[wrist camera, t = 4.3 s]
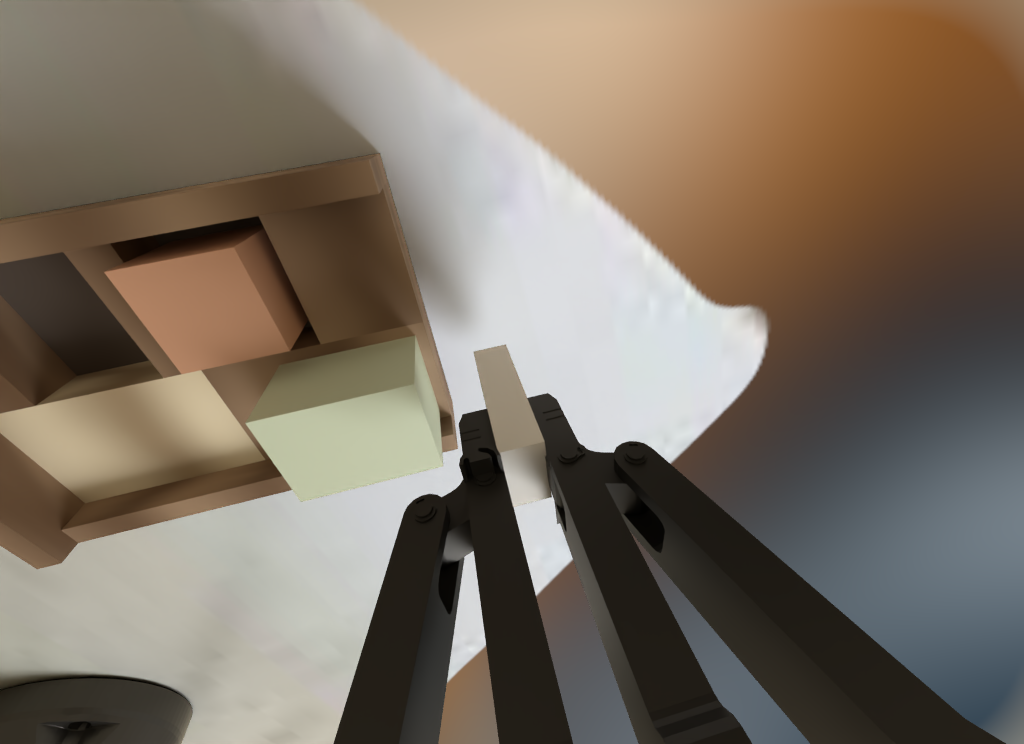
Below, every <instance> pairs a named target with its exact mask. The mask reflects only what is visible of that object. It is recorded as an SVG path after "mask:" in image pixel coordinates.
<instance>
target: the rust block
mask: <svg viewBox="0 0 1024 744" xmlns="http://www.w3.org/2000/svg"><path fill="white" fill-rule="evenodd" d="M104 273H105V274H106V275H107V277H108V278H109V279H110V281H111V282H112V283H113V285H114V286H115V287H116V289H117V290H118V291H119V292H120V294H121V295H122V296H123V298H124V299H125V300H126V302H127V303H128V304H129V306H130V307H131V308H132V310H133V311H134V312H135V314H136V315H137V316H138V318H139V319H140V320H141V321H142V323H143V324H144V325H145V327H146V328H147V329H148V331H149V332H150V333H151V335H152V336H153V337H154V339H155V340H156V341H157V343H158V344H159V345H160V346H161V348H162V349H163V350H164V352H165V353H166V354H167V356H168V357H169V358H170V360H171V361H172V362H173V364H174V365H175V366H176V368H177V369H178V370H179V372H180V373H181V374H186V373H190V372H195V371H200V370H204V369H209V368H214V367H218V366H223V365H227V364H232V363H237V362H241V361H246V360H251V359H255V358H260V357H264V356H269V355H274V354H278V353H283V352H288V351H290V350H291V349H292V347H293V345H294V343H295V342H296V340H297V338H298V337H299V335H300V333H301V331H302V330H303V328H304V326H305V325H306V323H307V321H308V320H309V319H308V317H307V315H306V313H305V311H304V309H303V307H302V305H301V303H300V300H299V298H298V296H297V294H296V292H295V290H294V288H293V286H292V284H291V282H290V280H289V278H288V276H287V274H286V272H285V270H284V268H283V265H282V263H281V261H280V259H279V257H278V255H277V253H276V251H275V249H274V247H273V245H272V243H271V241H270V239H269V237H268V235H267V233H266V230H265V228H264V226H263V224H262V225H257V226H252V227H246V228H241V229H236V230H230V231H225V232H220V233H214V234H209V235H203V236H198V237H193V238H187V239H182V240H177V241H171V242H169V243H167V244H165V245H163V246H160V247H158V248H156V249H154V250H151V251H149V252H147V253H145V254H143V255H140V256H138V257H136V258H134V259H132V260H129V261H127V262H125V263H123V264H121V265H118V266H116V267H114V268H112V269H110V270H107V271H105V272H104Z"/></svg>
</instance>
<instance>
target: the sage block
mask: <svg viewBox="0 0 1024 744" xmlns="http://www.w3.org/2000/svg"><path fill="white" fill-rule="evenodd" d="M245 424H246V425H247V426H248V428H249V429H250V431H251V432H252V434H253V435H254V436H255V438H256V439H257V441H258V442H259V443H260V445H261V446H262V448H263V449H264V450H265V452H266V453H267V455H268V456H269V458H270V459H271V460H272V462H273V463H274V465H275V466H276V467H277V469H278V470H279V472H280V473H281V474H282V476H283V477H284V479H285V480H286V482H287V483H288V484H289V486H290V487H291V489H292V490H293V491H294V493H295V494H296V496H297V497H298V498H299V500H300V501H301V502H303V501H307V500H311V499H315V498H319V497H323V496H327V495H331V494H335V493H339V492H343V491H347V490H351V489H355V488H359V487H363V486H367V485H371V484H375V483H379V482H383V481H387V480H391V479H395V478H399V477H403V476H407V475H411V474H415V473H419V472H422V471H426V470H430V469H434V468H438V467H442V466H443V456H442V441H441V426H440V411H439V407H438V404H437V401H436V398H435V394H434V391H433V388H432V385H431V382H430V379H429V376H428V373H427V370H426V366H425V363H424V360H423V357H422V354H421V351H420V348H419V345H418V341H417V338H416V335H415V336H410V337H406V338H401V339H397V340H392V341H388V342H383V343H378V344H374V345H369V346H365V347H360V348H356V349H351V350H346V351H342V352H337V353H333V354H328V355H324V356H319V357H314V358H310V359H305V360H301V361H296V362H292V363H287V364H282V365H280V366H279V367H278V369H277V371H276V372H275V374H274V376H273V377H272V379H271V381H270V382H269V384H268V386H267V387H266V389H265V391H264V392H263V394H262V396H261V397H260V399H259V401H258V402H257V404H256V406H255V408H254V409H253V411H252V413H251V414H250V416H249V418H248V419H247V421H246V423H245Z"/></svg>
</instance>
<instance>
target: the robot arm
mask: <svg viewBox="0 0 1024 744" xmlns="http://www.w3.org/2000/svg"><path fill="white" fill-rule="evenodd" d="M474 356H475V360H476V365H477V369H478V374H479V378H480V382H481V387H482V391H483V395H484V400H485V404H486V408H487V409H484V410H479V411H475V412H471V413H467V414H463V415H462V418H461V420H460V422H459V429H460V436H461V444H462V451H463V455H462V457H461V458H460V464H459V466H460V469H461V472H462V476H463V481H462V482H461V484H460V485H459V486H458V487H457V488H456V489H455V490H453V491H452V492H451V493H449V494H447V495H445V496H443V497H442V498H441V497H440V496H438V495H434V494H427V495H423V496H420V497H418V498H417V499H415V500H413V501H412V502H411V503H410V504H409V505H408V507H407V509H406V511H405V512H404V515H403V518H402V522H401V525H400V528H399V531H398V535H397V538H396V541H395V545H394V548H393V551H392V554H391V558H390V561H389V564H388V567H387V571H386V574H385V577H384V581H383V584H382V587H381V590H380V594H379V597H378V600H377V603H376V607H375V610H374V613H373V617H372V620H371V623H370V626H369V630H368V633H367V636H366V639H365V643H364V646H363V649H362V652H361V656H360V659H359V662H358V666H357V669H356V672H355V675H354V679H353V682H352V685H351V688H350V692H349V695H348V698H347V702H346V705H345V708H344V711H343V715H342V718H341V721H340V724H339V728H338V731H337V734H336V737H335V741H334V744H438V741H439V734H440V727H441V719H442V713H443V705H444V698H445V691H446V684H447V677H448V670H449V663H450V656H451V649H452V642H453V635H454V627H455V620H456V613H457V606H458V599H459V592H460V585H461V578H462V570H463V563H464V557H465V556H466V555H468V554H469V553H471V552H472V551H474V556H475V564H476V571H477V579H478V586H479V594H480V601H481V609H482V616H483V624H484V631H485V639H486V646H487V654H488V661H489V669H490V676H491V684H492V691H493V699H494V707H495V714H496V722H497V729H498V737H499V744H573V742H572V737H571V734H570V729H569V726H568V722H567V718H566V714H565V710H564V706H563V702H562V698H561V694H560V690H559V686H558V682H557V678H556V674H555V670H554V666H553V662H552V659H551V654H550V650H549V646H548V643H547V638H546V635H545V631H544V627H543V623H542V619H541V615H540V611H539V607H538V603H537V599H536V595H535V591H534V587H533V583H532V579H531V575H530V571H529V567H528V563H527V559H526V555H525V551H524V548H523V544H522V540H521V536H520V532H519V528H518V524H517V520H516V516H515V512H514V508H513V507H516V506H519V505H523V504H527V503H531V502H534V501H538V500H542V499H546V498H549V497H552V496H551V492H552V495H553V498H554V500H555V508H556V517H557V524H558V523H560V524H561V526H562V529H563V532H564V535H565V538H566V541H567V543H568V546H569V549H570V552H571V555H572V557H573V560H574V563H575V566H576V568H577V572H578V574H579V577H580V580H581V583H582V585H583V588H584V591H585V594H586V597H587V599H588V602H589V605H590V608H591V611H592V613H593V616H594V619H595V622H596V625H597V627H598V631H599V633H600V636H601V639H602V642H603V645H604V647H605V650H606V653H607V656H608V659H609V662H610V664H611V667H612V670H613V673H614V675H615V678H616V681H617V684H618V687H619V690H620V692H621V695H622V698H623V701H624V704H625V706H626V709H627V712H628V715H629V718H630V721H631V724H632V726H633V729H634V732H635V735H636V737H637V740H638V743H639V744H752V743H751V741H750V739H749V738H748V736H747V735H746V733H745V731H744V729H743V728H742V726H741V725H740V723H739V722H738V721H737V719H736V718H735V717H734V715H733V714H732V713H730V712H729V711H728V710H727V709H726V708H724V707H723V706H722V704H721V703H720V702H719V701H718V699H717V697H716V695H715V694H714V692H713V690H712V688H711V686H710V684H709V682H708V680H707V678H706V676H705V675H704V673H703V671H702V669H701V667H700V665H699V663H698V661H697V659H696V657H695V655H694V653H693V652H692V650H691V648H690V646H689V644H688V642H687V640H686V638H685V636H684V634H683V632H682V631H681V629H680V627H679V625H678V623H677V621H676V619H675V617H674V615H673V614H672V611H671V609H670V607H669V605H668V604H667V602H666V600H665V598H664V596H663V594H662V592H661V590H660V588H659V586H658V584H657V582H656V580H655V579H654V577H653V575H652V573H651V571H650V569H649V567H648V565H647V563H646V561H645V559H644V558H643V556H642V554H641V552H640V550H639V548H638V546H637V544H636V542H635V540H634V538H633V536H632V534H633V535H634V536H635V538H636V539H637V540H638V541H639V542H640V543H641V545H642V546H643V547H644V548H645V549H646V551H647V552H648V553H649V554H650V555H651V556H652V558H653V559H654V560H655V561H656V562H657V563H658V565H659V566H660V567H661V568H662V569H663V571H664V572H665V573H666V574H667V575H668V576H669V578H670V579H671V580H672V581H673V582H674V584H675V585H676V586H677V587H678V588H679V589H680V591H681V592H682V593H683V594H684V595H685V596H686V598H687V599H688V600H689V601H690V602H691V604H692V605H693V606H694V607H695V608H696V609H697V611H698V612H699V613H700V614H701V615H702V617H703V618H704V619H705V620H706V621H707V622H708V623H709V625H710V626H711V627H712V628H713V629H714V631H715V632H716V633H717V634H718V635H719V637H720V638H721V639H722V640H723V641H724V642H725V644H726V645H727V646H728V647H729V648H730V649H731V651H732V652H733V653H734V654H735V655H736V657H737V658H738V659H739V660H740V661H741V662H742V664H743V665H744V666H745V667H746V668H747V669H748V671H749V672H750V673H751V674H752V675H753V677H754V678H755V679H756V680H757V681H758V682H759V684H760V685H761V686H762V687H763V688H764V690H765V691H766V692H767V693H768V694H769V695H770V697H771V698H772V699H773V700H774V701H775V702H776V704H777V705H778V706H779V707H780V708H781V709H782V711H783V712H784V713H785V714H786V715H787V717H788V718H789V719H790V720H791V721H792V722H793V724H794V725H795V726H796V727H797V728H798V730H799V731H800V732H801V733H802V734H803V735H804V736H805V738H806V739H807V740H808V741H809V743H810V744H1006V743H1004V742H1002V741H1001V740H999V739H997V738H996V737H994V736H992V735H991V734H989V733H988V732H986V731H984V730H983V729H981V728H979V727H977V726H976V725H974V724H973V723H971V722H969V721H968V720H966V719H965V718H963V717H962V716H961V715H960V714H959V713H958V712H957V711H955V710H954V709H953V708H952V707H951V706H950V705H948V704H947V703H946V702H945V701H944V700H943V699H941V698H940V697H939V696H938V695H937V694H936V693H935V692H933V691H932V690H931V689H930V688H929V687H928V686H926V685H925V684H924V683H923V682H922V681H921V680H920V679H918V678H917V677H916V676H915V675H914V674H913V673H911V672H910V671H909V670H908V669H907V668H906V667H904V666H903V665H902V664H901V663H900V662H899V661H898V660H896V659H895V658H894V657H893V656H892V655H891V654H889V653H888V652H887V651H886V650H885V649H884V648H882V647H881V646H880V645H879V644H878V643H877V642H875V641H874V640H873V639H872V638H871V637H870V636H869V635H867V634H866V633H865V632H864V631H863V630H862V629H860V628H859V627H858V626H857V625H856V624H854V622H852V621H851V620H850V619H849V618H848V617H847V616H845V615H844V614H843V613H842V612H841V611H839V609H837V608H836V607H835V606H834V605H833V604H831V603H830V602H829V601H828V600H827V599H826V598H824V597H823V596H822V595H821V594H820V593H819V592H818V591H816V590H815V589H814V588H813V587H812V586H811V585H810V584H808V583H807V582H806V581H805V580H804V579H803V578H801V577H800V576H799V575H798V574H797V573H796V572H795V571H793V570H792V569H791V568H790V567H789V566H787V565H786V564H785V563H784V562H783V561H782V560H781V559H779V558H778V557H777V556H776V555H775V554H774V553H773V552H771V551H770V550H769V549H768V548H767V547H766V546H764V545H763V544H762V543H761V542H760V541H759V540H758V539H756V538H755V537H754V536H753V535H752V534H751V533H749V532H748V531H747V530H746V529H745V528H744V527H742V526H741V525H740V524H739V523H738V522H737V521H736V520H734V519H733V518H732V517H731V516H730V515H728V514H727V513H726V512H725V511H724V510H723V509H722V508H720V507H719V506H718V505H717V504H716V503H715V502H714V501H712V500H711V499H710V498H709V497H708V496H707V495H705V494H704V493H703V492H702V491H701V490H700V489H698V488H697V487H696V486H695V485H694V484H693V483H691V482H690V481H689V480H688V479H687V478H686V477H685V476H683V475H682V474H681V473H680V472H679V471H677V469H675V468H674V467H673V466H672V465H671V464H670V463H668V462H667V461H666V460H665V459H664V458H663V457H661V456H660V455H659V454H658V453H657V452H656V451H655V450H653V449H652V448H651V447H649V446H648V445H646V444H644V443H640V442H634V441H629V442H625V443H622V444H620V445H619V446H618V447H616V449H615V452H614V453H601V452H594V451H590V450H588V449H586V448H585V447H584V446H583V445H581V444H580V443H579V442H578V441H577V439H576V437H575V435H574V433H573V431H572V429H571V427H570V425H569V423H568V421H567V419H566V417H565V415H564V413H563V411H562V410H561V407H560V405H559V403H558V401H557V399H555V398H554V397H552V396H551V395H550V394H548V393H547V394H543V395H538V396H534V397H530V398H527V396H526V394H525V392H524V389H523V387H522V384H521V382H520V379H519V377H518V374H517V372H516V369H515V367H514V364H513V362H512V359H511V357H510V354H509V352H508V349H507V347H506V345H501V346H497V347H493V348H488V349H484V350H479V351H475V352H474ZM631 533H632V534H631ZM192 713H193V711H192V707H191V705H190V703H189V702H188V701H187V700H186V699H185V698H183V697H182V696H180V695H179V694H177V693H175V692H173V691H170V690H168V689H165V688H162V687H159V686H155V685H151V684H147V683H141V682H136V681H128V680H118V679H97V678H86V679H64V680H53V681H45V682H38V683H32V684H26V685H22V686H17V687H13V688H9V689H5V690H2V691H0V744H181V743H182V740H183V738H184V735H185V733H186V730H187V728H188V725H189V723H190V720H191V717H192Z"/></svg>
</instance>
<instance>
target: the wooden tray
mask: <svg viewBox="0 0 1024 744" xmlns="http://www.w3.org/2000/svg"><path fill="white" fill-rule="evenodd" d="M262 224H263V226H264V228H265V230H266V233H267V235H268V237H269V239H270V241H271V243H272V245H273V247H274V249H275V251H276V253H277V255H278V257H279V259H280V261H281V263H282V265H283V268H284V270H285V272H286V274H287V276H288V278H289V280H290V282H291V284H292V286H293V288H294V290H295V292H296V294H297V296H298V298H299V300H300V303H301V305H302V307H303V309H304V311H305V313H306V315H307V317H308V319H309V320H308V321H307V323H306V325H305V326H304V328H303V330H302V331H301V333H300V335H299V337H298V338H297V340H296V342H295V343H294V345H293V347H292V349H291V350H290V351H288V352H283V353H278V354H274V355H269V356H264V357H260V358H255V359H251V360H246V361H241V362H237V363H232V364H227V365H223V366H218V367H214V368H209V369H204V370H200V371H195V372H190V373H186V374H181V373H180V372H179V370H178V369H177V368H176V366H175V365H174V364H173V362H172V361H171V360H170V358H169V357H168V356H167V354H166V353H165V352H164V350H163V349H162V348H161V346H160V345H159V344H158V343H157V341H156V340H155V339H154V337H153V336H152V335H151V333H150V332H149V331H148V329H147V328H146V327H145V325H144V324H143V323H142V321H141V320H140V319H139V318H138V316H137V315H136V314H135V312H134V311H133V310H132V308H131V307H130V306H129V304H128V303H127V302H126V300H125V299H124V298H123V296H122V295H121V294H120V292H119V291H118V290H117V289H116V287H115V286H114V285H113V283H112V282H111V281H110V279H109V278H108V277H107V275H106V274H105V273H104V272H105V271H107V270H110V269H112V268H114V267H116V266H118V265H121V264H123V263H125V262H127V261H129V260H132V259H134V258H136V257H138V256H140V255H143V254H145V253H147V252H149V251H151V250H154V249H156V248H158V247H160V246H163V245H165V244H167V243H169V242H171V241H177V240H182V239H187V238H193V237H198V236H203V235H209V234H214V233H220V232H225V231H230V230H236V229H241V228H246V227H252V226H257V225H262ZM415 335H416V338H417V341H418V345H419V348H420V351H421V354H422V357H423V360H424V363H425V366H426V370H427V373H428V376H429V379H430V382H431V385H432V388H433V391H434V394H435V398H436V401H437V404H438V407H439V411H440V426H441V441H442V453H443V452H447V451H451V450H455V449H458V446H457V437H456V429H455V420H454V412H453V403H452V399H451V396H450V392H449V389H448V385H447V382H446V379H445V375H444V372H443V368H442V365H441V362H440V358H439V355H438V351H437V348H436V344H435V341H434V338H433V334H432V331H431V327H430V324H429V320H428V317H427V314H426V310H425V307H424V303H423V300H422V296H421V293H420V290H419V286H418V283H417V279H416V276H415V272H414V269H413V266H412V262H411V259H410V255H409V252H408V248H407V245H406V242H405V238H404V235H403V231H402V228H401V224H400V221H399V218H398V214H397V211H396V207H395V204H394V201H393V197H392V194H391V190H390V187H389V183H388V180H387V177H386V173H385V170H384V166H383V163H382V159H381V156H380V153H378V154H373V155H367V156H361V157H356V158H350V159H344V160H338V161H333V162H327V163H321V164H316V165H310V166H304V167H298V168H293V169H287V170H281V171H275V172H270V173H264V174H258V175H253V176H247V177H241V178H235V179H230V180H224V181H218V182H212V183H207V184H201V185H195V186H190V187H184V188H178V189H172V190H167V191H161V192H155V193H150V194H144V195H138V196H132V197H127V198H121V199H115V200H109V201H104V202H98V203H92V204H87V205H81V206H75V207H69V208H64V209H58V210H52V211H46V212H41V213H35V214H29V215H24V216H18V217H12V218H6V219H1V220H0V546H2V547H3V548H5V549H7V550H8V551H10V552H11V553H13V554H14V555H16V556H17V557H19V558H21V559H22V560H24V561H25V562H27V563H28V564H30V565H31V566H33V567H35V568H36V569H40V568H44V567H48V566H52V565H56V564H60V563H62V562H63V561H64V559H65V558H66V557H67V556H68V554H69V553H70V552H71V551H72V550H73V548H74V547H75V546H76V545H77V544H78V543H80V542H84V541H88V540H92V539H96V538H100V537H104V536H108V535H112V534H116V533H120V532H124V531H128V530H132V529H136V528H140V527H144V526H148V525H152V524H156V523H160V522H164V521H168V520H172V519H176V518H180V517H184V516H188V515H193V514H197V513H201V512H205V511H209V510H213V509H217V508H221V507H225V506H229V505H233V504H237V503H241V502H245V501H249V500H253V499H257V498H261V497H265V496H269V495H273V494H277V493H281V492H285V491H289V490H292V489H291V487H290V486H289V484H288V483H287V482H286V480H285V479H284V477H283V476H282V474H281V473H280V472H279V470H278V469H277V467H276V466H275V465H274V463H273V462H272V460H271V459H270V458H269V456H268V455H267V453H266V452H265V450H264V449H263V448H262V446H261V445H260V443H259V442H258V441H257V439H256V438H255V436H254V435H253V434H252V432H251V431H250V429H249V428H248V426H247V425H246V424H245V423H246V421H247V419H248V418H249V416H250V414H251V413H252V411H253V409H254V408H255V406H256V404H257V402H258V401H259V399H260V397H261V396H262V394H263V392H264V391H265V389H266V387H267V386H268V384H269V382H270V381H271V379H272V377H273V376H274V374H275V372H276V371H277V369H278V367H279V366H280V365H282V364H287V363H292V362H296V361H301V360H305V359H310V358H314V357H319V356H324V355H328V354H333V353H337V352H342V351H346V350H351V349H356V348H360V347H365V346H369V345H374V344H378V343H383V342H388V341H392V340H397V339H401V338H406V337H410V336H415Z"/></svg>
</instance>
